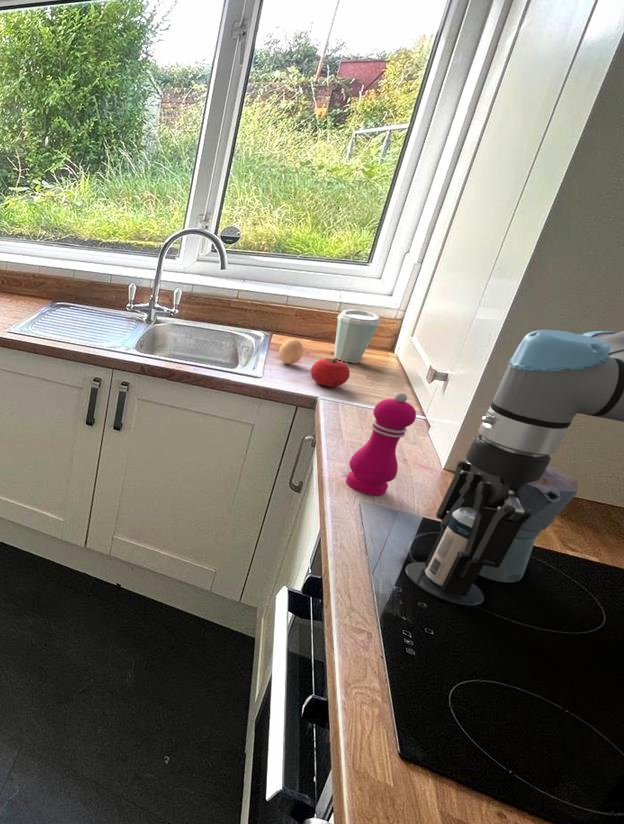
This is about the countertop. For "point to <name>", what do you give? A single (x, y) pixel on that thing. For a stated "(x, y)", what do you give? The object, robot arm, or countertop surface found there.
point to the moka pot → (533, 522)
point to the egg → (291, 351)
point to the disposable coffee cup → (354, 334)
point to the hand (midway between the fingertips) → (444, 579)
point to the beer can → (451, 544)
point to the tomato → (330, 372)
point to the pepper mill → (381, 447)
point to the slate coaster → (425, 583)
